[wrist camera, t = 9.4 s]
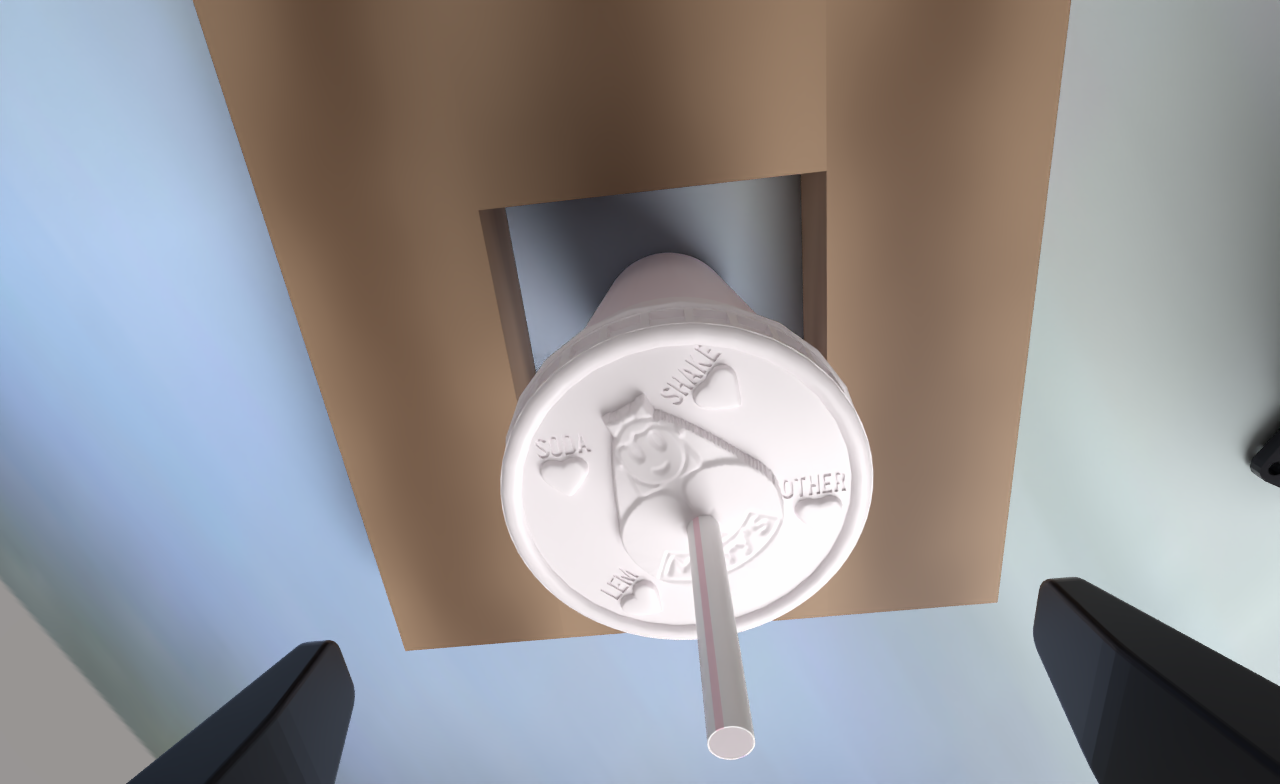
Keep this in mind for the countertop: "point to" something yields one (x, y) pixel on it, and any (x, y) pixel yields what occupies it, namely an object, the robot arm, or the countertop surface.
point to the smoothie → (686, 473)
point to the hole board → (636, 162)
